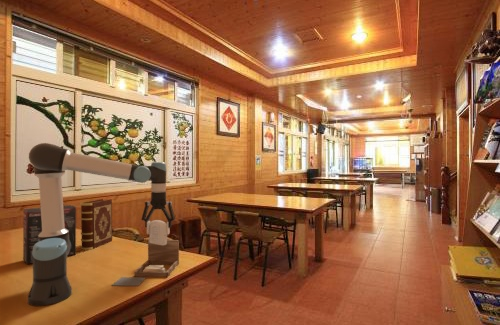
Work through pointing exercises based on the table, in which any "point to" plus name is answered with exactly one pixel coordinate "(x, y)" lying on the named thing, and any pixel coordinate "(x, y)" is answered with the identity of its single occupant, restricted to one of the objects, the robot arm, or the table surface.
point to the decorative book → (96, 223)
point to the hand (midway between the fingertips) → (158, 233)
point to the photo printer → (158, 232)
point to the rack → (160, 258)
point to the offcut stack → (154, 268)
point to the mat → (129, 281)
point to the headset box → (34, 228)
